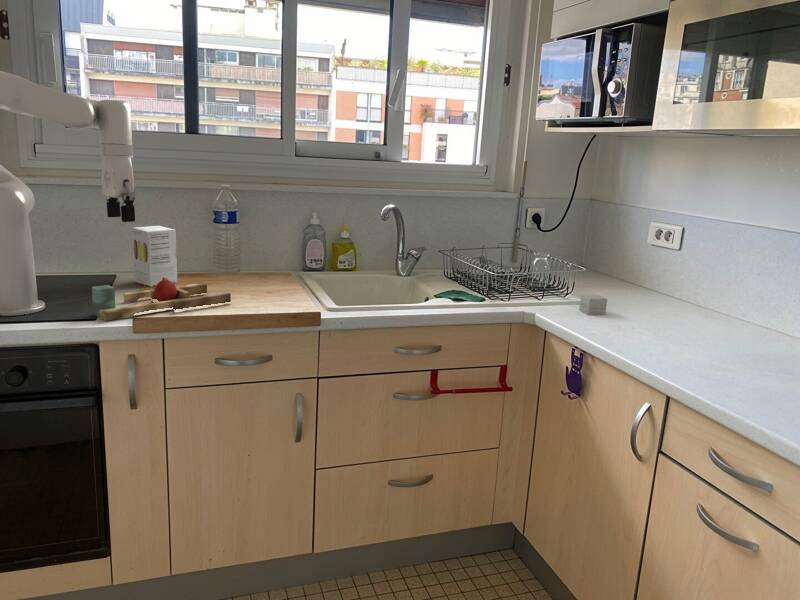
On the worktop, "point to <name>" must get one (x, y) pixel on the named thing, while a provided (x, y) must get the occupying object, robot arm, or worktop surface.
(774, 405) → the worktop surface
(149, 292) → the broken strip
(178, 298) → the tan frame
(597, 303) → the small box
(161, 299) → the onion
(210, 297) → the lane rails
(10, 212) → the robot arm
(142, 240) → the supplement box
